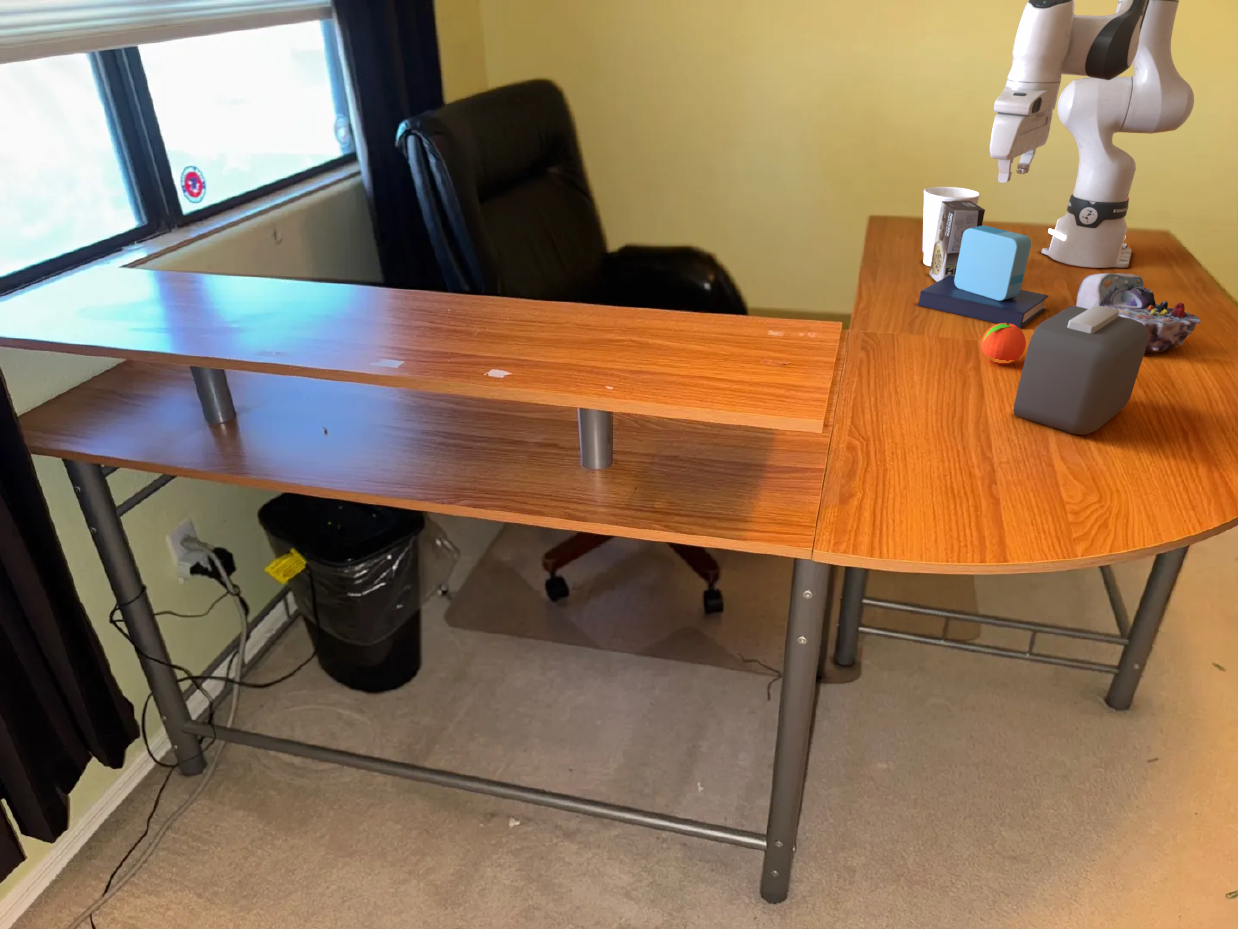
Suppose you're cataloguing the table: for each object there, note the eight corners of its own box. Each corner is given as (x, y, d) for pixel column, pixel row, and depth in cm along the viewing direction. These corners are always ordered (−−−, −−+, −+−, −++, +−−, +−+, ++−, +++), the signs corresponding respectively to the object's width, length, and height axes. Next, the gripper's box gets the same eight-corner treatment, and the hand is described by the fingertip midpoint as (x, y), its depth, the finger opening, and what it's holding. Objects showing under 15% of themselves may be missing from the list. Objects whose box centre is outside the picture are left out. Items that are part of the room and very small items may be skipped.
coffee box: (971, 287, 186) (986, 209, 178) (940, 287, 186) (954, 209, 178) (957, 274, 194) (971, 199, 186) (928, 274, 194) (941, 199, 186)
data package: (1019, 299, 170) (1033, 236, 164) (1004, 303, 167) (1018, 240, 162) (966, 283, 178) (978, 223, 173) (952, 287, 176) (963, 226, 170)
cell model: (1121, 261, 164) (1221, 294, 148) (1104, 316, 170) (1199, 354, 154) (1069, 268, 160) (1168, 304, 144) (1054, 325, 165) (1147, 365, 149)
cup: (908, 255, 207) (919, 185, 199) (960, 257, 206) (974, 187, 198) (916, 269, 197) (928, 196, 189) (971, 272, 195) (986, 198, 188)
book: (946, 288, 185) (949, 275, 183) (1045, 309, 173) (1048, 295, 172) (918, 305, 176) (920, 290, 174) (1020, 328, 164) (1023, 313, 163)
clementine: (992, 374, 145) (1001, 333, 142) (963, 359, 151) (971, 319, 147) (1030, 367, 148) (1039, 327, 144) (1000, 353, 153) (1008, 314, 150)
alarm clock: (1055, 388, 140) (1080, 294, 132) (1131, 411, 133) (1162, 312, 125) (1010, 420, 130) (1034, 319, 122) (1089, 446, 123) (1120, 340, 115)
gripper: (1032, 89, 165) (1016, 166, 172) (990, 102, 152) (975, 184, 159) (1067, 92, 162) (1049, 170, 169) (1028, 105, 148) (1010, 189, 155)
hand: (1012, 177), depth 164 cm, fingers open, 8 cm apart
